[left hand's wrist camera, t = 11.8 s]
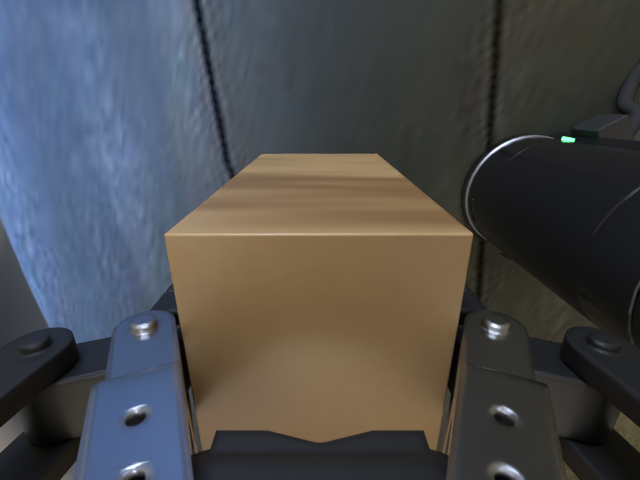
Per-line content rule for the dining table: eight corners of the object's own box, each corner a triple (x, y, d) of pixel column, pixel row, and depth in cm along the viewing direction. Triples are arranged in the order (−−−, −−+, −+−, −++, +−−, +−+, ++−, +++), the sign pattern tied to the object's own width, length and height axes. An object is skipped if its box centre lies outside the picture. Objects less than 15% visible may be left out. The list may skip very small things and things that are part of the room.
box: (261, 153, 17) (162, 234, 6) (377, 153, 17) (474, 233, 6) (281, 480, 26) (254, 746, 15) (358, 480, 26) (386, 745, 15)
